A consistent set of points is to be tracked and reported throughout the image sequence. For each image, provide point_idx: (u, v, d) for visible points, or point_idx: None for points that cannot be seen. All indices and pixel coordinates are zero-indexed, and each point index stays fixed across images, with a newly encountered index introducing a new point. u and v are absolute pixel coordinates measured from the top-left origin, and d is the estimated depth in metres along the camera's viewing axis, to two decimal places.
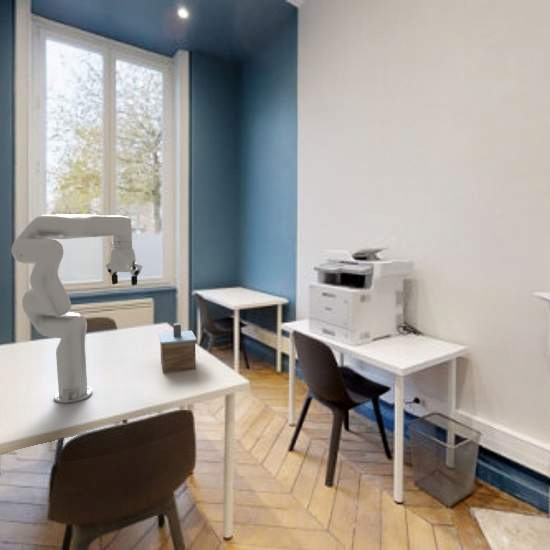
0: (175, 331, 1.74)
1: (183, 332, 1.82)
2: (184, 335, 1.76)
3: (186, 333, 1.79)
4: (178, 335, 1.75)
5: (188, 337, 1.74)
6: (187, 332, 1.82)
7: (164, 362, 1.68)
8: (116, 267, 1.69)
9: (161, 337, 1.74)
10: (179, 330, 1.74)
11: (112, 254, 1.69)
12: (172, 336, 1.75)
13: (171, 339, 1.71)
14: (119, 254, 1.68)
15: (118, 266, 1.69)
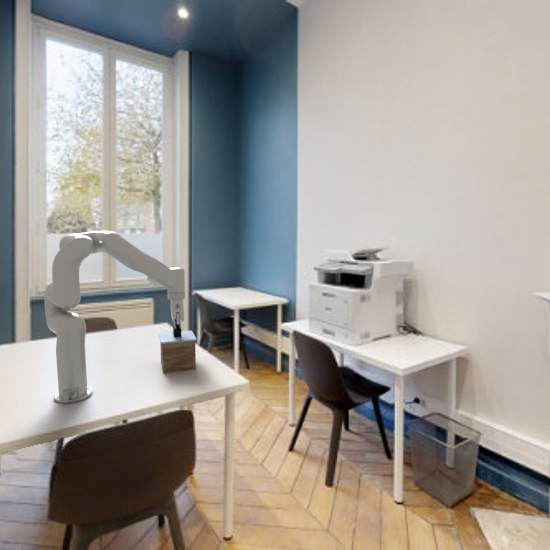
0: None
1: (183, 332, 1.82)
2: (184, 335, 1.76)
3: (186, 333, 1.79)
4: None
5: (188, 337, 1.74)
6: (187, 332, 1.82)
7: (164, 362, 1.68)
8: None
9: (161, 337, 1.74)
10: None
11: None
12: (172, 336, 1.75)
13: (171, 339, 1.71)
14: None
15: None
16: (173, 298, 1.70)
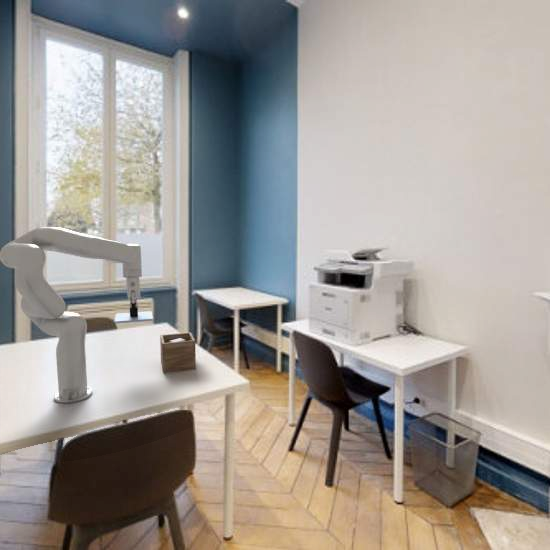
0: None
1: (142, 312, 1.75)
2: (141, 315, 1.69)
3: (144, 314, 1.72)
4: None
5: (145, 317, 1.67)
6: (145, 312, 1.75)
7: (164, 362, 1.68)
8: None
9: (117, 317, 1.66)
10: None
11: (139, 283, 1.64)
12: (128, 316, 1.68)
13: (126, 318, 1.64)
14: None
15: None
16: (128, 276, 1.63)
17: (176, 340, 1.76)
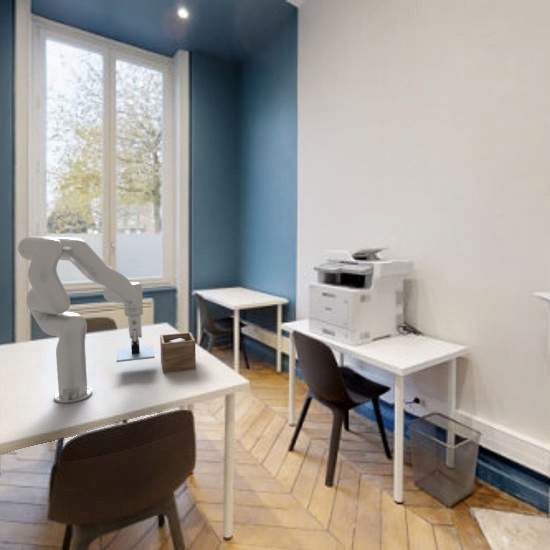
0: None
1: (143, 348, 1.77)
2: (142, 352, 1.71)
3: (145, 349, 1.74)
4: None
5: (146, 354, 1.69)
6: (147, 348, 1.77)
7: (164, 362, 1.68)
8: (141, 332, 1.69)
9: (118, 354, 1.68)
10: None
11: (140, 321, 1.66)
12: (130, 353, 1.70)
13: (128, 356, 1.66)
14: None
15: None
16: (129, 314, 1.65)
17: (176, 340, 1.76)
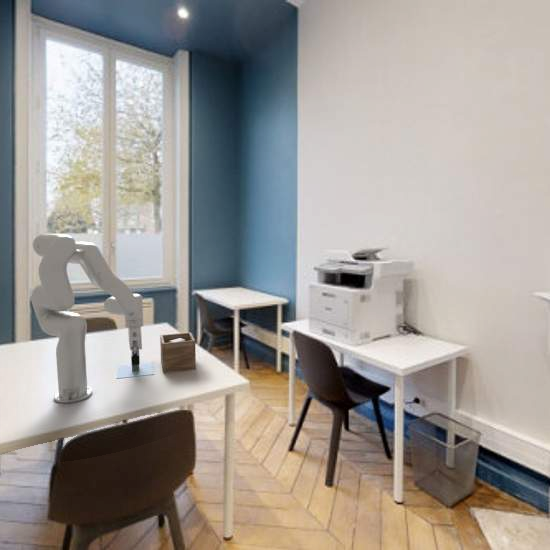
0: (133, 365, 1.69)
1: (143, 365, 1.77)
2: (142, 369, 1.72)
3: (145, 367, 1.75)
4: (136, 369, 1.70)
5: (146, 371, 1.70)
6: (147, 364, 1.78)
7: (164, 362, 1.68)
8: None
9: (119, 371, 1.69)
10: None
11: (140, 332, 1.67)
12: (130, 370, 1.71)
13: (128, 374, 1.67)
14: None
15: None
16: (130, 326, 1.65)
17: (176, 340, 1.76)
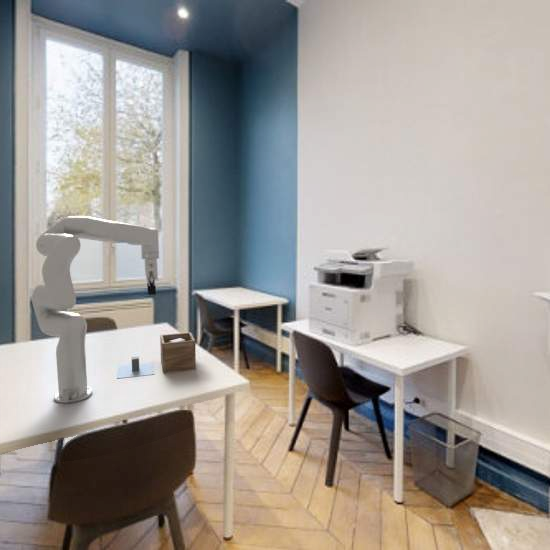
0: (133, 365, 1.69)
1: (143, 365, 1.77)
2: (142, 369, 1.72)
3: (145, 367, 1.75)
4: (136, 369, 1.70)
5: (146, 371, 1.70)
6: (147, 364, 1.78)
7: (164, 362, 1.68)
8: None
9: (119, 371, 1.69)
10: (137, 364, 1.70)
11: (156, 264, 1.75)
12: (130, 370, 1.71)
13: (128, 374, 1.67)
14: None
15: None
16: (147, 257, 1.73)
17: (176, 340, 1.76)
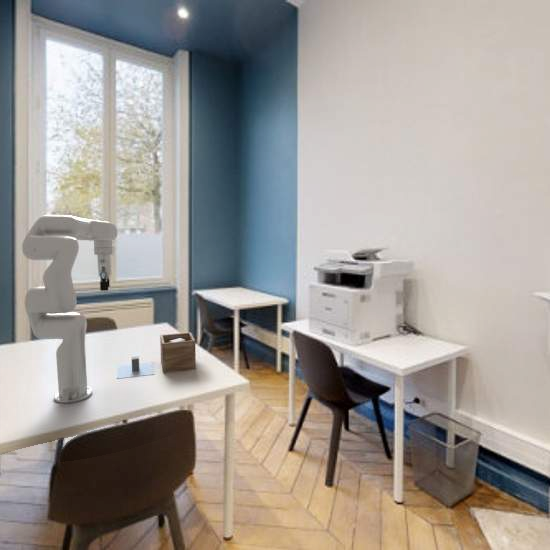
0: (133, 365, 1.69)
1: (143, 365, 1.77)
2: (142, 369, 1.72)
3: (145, 367, 1.75)
4: (136, 369, 1.70)
5: (146, 371, 1.70)
6: (147, 364, 1.78)
7: (164, 362, 1.68)
8: (110, 272, 1.76)
9: (119, 371, 1.69)
10: (137, 364, 1.70)
11: (109, 260, 1.74)
12: (130, 370, 1.71)
13: (128, 374, 1.67)
14: (110, 259, 1.77)
15: None
16: (99, 253, 1.72)
17: (176, 340, 1.76)
